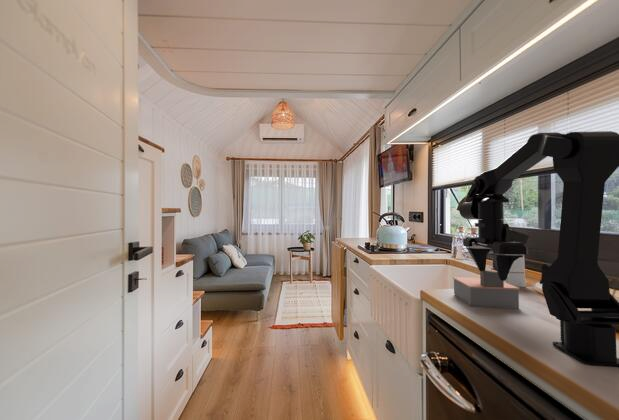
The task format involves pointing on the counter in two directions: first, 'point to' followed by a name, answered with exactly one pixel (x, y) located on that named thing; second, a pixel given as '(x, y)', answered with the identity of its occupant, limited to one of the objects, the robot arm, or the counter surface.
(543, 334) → the counter surface
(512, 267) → the syrup box
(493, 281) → the lid
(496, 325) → the counter surface
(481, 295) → the grey open tray
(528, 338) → the counter surface
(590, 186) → the robot arm
